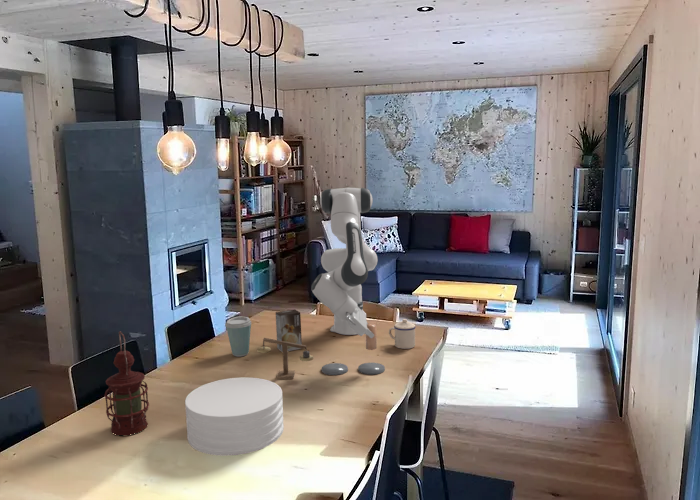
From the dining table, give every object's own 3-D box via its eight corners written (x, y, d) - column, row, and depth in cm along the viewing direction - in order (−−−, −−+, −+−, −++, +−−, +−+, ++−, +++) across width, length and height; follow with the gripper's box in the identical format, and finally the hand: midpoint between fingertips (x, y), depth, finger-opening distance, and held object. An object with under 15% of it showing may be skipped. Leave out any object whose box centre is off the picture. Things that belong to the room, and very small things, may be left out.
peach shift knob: (365, 346, 217) (365, 323, 216) (376, 346, 217) (376, 323, 216) (366, 350, 213) (365, 326, 212) (376, 349, 213) (376, 326, 212)
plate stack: (203, 411, 184) (201, 377, 182) (289, 411, 183) (288, 377, 181) (174, 456, 156) (171, 416, 154) (275, 456, 155) (273, 416, 153)
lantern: (155, 430, 171) (147, 334, 166) (111, 441, 164) (102, 341, 159) (145, 415, 181) (138, 324, 176) (104, 425, 174) (95, 331, 170)
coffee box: (296, 344, 247) (295, 308, 245) (302, 349, 242) (301, 312, 239) (276, 348, 243) (275, 311, 241) (282, 352, 238) (280, 315, 235)
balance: (259, 373, 215) (257, 335, 212) (314, 372, 215) (313, 334, 212) (257, 379, 209) (255, 340, 207) (313, 378, 209) (312, 339, 207)
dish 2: (358, 365, 222) (358, 362, 221) (383, 364, 222) (383, 362, 221) (358, 374, 212) (358, 372, 212) (385, 374, 212) (385, 371, 212)
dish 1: (322, 365, 222) (322, 363, 222) (347, 365, 222) (347, 362, 221) (320, 375, 212) (320, 372, 212) (347, 375, 212) (347, 372, 212)
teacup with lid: (418, 344, 245) (419, 318, 243) (410, 350, 237) (410, 323, 236) (393, 340, 251) (393, 314, 249) (384, 346, 243) (384, 319, 242)
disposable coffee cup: (244, 359, 230) (242, 323, 227) (221, 356, 234) (219, 321, 231) (257, 351, 239) (256, 317, 237) (235, 348, 243) (234, 314, 241)
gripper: (352, 310, 202) (380, 336, 204) (352, 297, 222) (377, 321, 224) (340, 323, 203) (367, 349, 204) (340, 308, 223) (366, 332, 225)
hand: (372, 334), depth 214 cm, fingers closed on peach shift knob, 4 cm apart
